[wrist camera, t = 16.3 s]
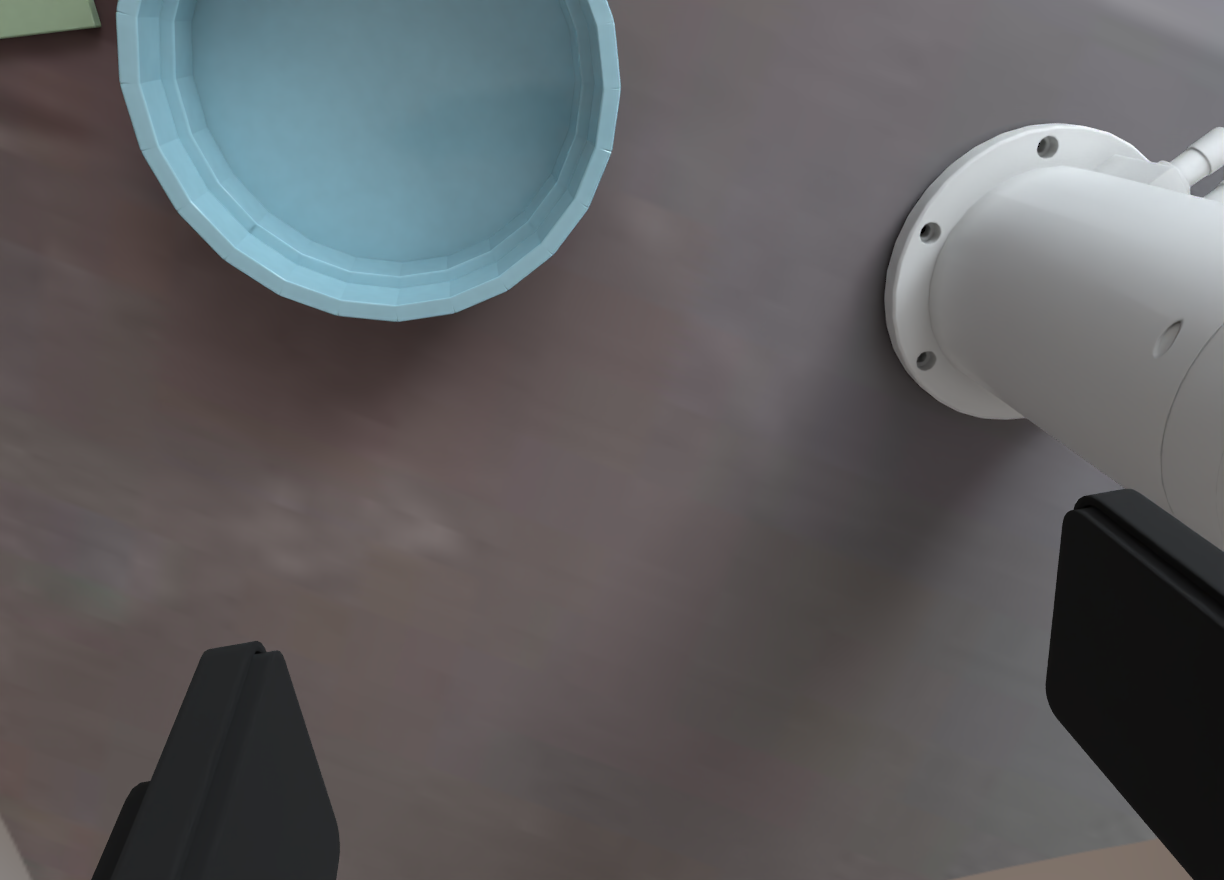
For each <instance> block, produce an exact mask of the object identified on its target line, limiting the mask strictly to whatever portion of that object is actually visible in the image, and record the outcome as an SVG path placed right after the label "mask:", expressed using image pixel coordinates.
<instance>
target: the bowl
mask: <svg viewBox="0 0 1224 880" xmlns="http://www.w3.org/2000/svg"><path fill="white" fill-rule="evenodd" d="M116 10H117V12H116V27H117V47H118V67H119V82H120V83H121V84H120V87H121V90H122V93H123V96H124V100H125V103H126V106H127V109H128V112H129V116H130V119H131V122H132V125H133V128H134V132H135V135H136V138H137V141H138V145H139V148H140V150H141V151H142V154H143V156H144V158H145V159H146V161H147V163H148V164H149V166H150V168H151V169H152V171H153V173H154V174H155V176H156V178H157V179H158V181H159V183H160V184H161V186H162V188H163V189H164V191H165V193H166V194H167V196H168V198H169V199H170V201H171V203H172V204H173V206H174V208H175V209H176V210H177V212H178V214H179V215H180V216H181V217H182V218H183V219H184V220H185V221H186V222H187V223H188V224H189V225H190V226H191V227H192V228H193V229H194V230H195V231H196V232H197V233H198V234H199V235H200V236H201V237H202V238H203V239H204V240H205V241H206V242H207V243H208V244H209V245H210V247H211V248H212V249H213V250H214V251H215V252H216V253H217V254H218V255H219V256H220V257H221V258H222V259H225V261H226V262H227V263H229V264H231V265H232V266H234V267H235V268H237V269H238V270H240V271H241V272H243V273H245V274H246V275H248V276H249V277H251V278H252V279H254V280H255V281H257V282H259V283H260V284H262V285H263V286H265V287H266V288H268V289H269V290H271V291H273V292H274V293H276V294H278V295H279V296H282V297H284V298H287V299H290V300H293V301H296V302H299V303H301V304H304V305H307V306H310V307H313V308H316V309H318V310H321V311H324V312H327V313H330V314H333V315H335V316H337V315H338V316H342V317H352V318H362V319H372V320H381V321H391V322H402V321H408V320H415V319H422V318H429V317H435V316H442V315H449V314H454V313H457V312H460V311H462V310H464V309H467V308H469V307H471V306H474V305H476V304H478V303H481V302H483V301H485V300H488V299H490V298H493V297H495V296H497V295H500V294H502V293H504V292H506V291H507V290H510V289H511V288H512V287H513V286H515V285H516V284H517V283H519V282H520V281H521V280H522V279H524V278H525V277H526V276H528V275H529V274H530V273H531V272H533V271H534V270H535V269H536V268H538V267H539V266H540V265H542V264H543V263H544V262H545V261H547V260H548V259H549V258H551V257H552V255H554V254H555V253H556V251H557V250H558V249H559V247H560V246H561V245H562V243H563V242H564V241H565V239H566V238H567V237H568V235H569V234H570V233H571V231H572V230H573V229H574V227H575V226H576V225H577V223H578V222H579V221H580V219H581V218H582V217H583V216H584V214H585V213H586V212H587V210H588V207H589V206H590V204H591V202H592V199H593V197H594V194H595V192H596V190H597V187H598V185H599V182H600V180H601V177H602V175H603V173H604V170H605V168H606V165H607V163H608V161H609V158H610V156H611V152H610V151H612V149H613V142H614V135H615V128H616V121H617V114H618V107H619V100H620V93H621V90H620V88H621V81H620V71H619V61H618V52H617V42H616V32H615V23H614V22H613V21H614V19H613V16H612V13H611V10H610V7H609V5H608V2H607V0H118V4H117V8H116Z"/></svg>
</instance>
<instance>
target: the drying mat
mask: <svg viewBox="0 0 1224 880" xmlns="http://www.w3.org/2000/svg"><path fill="white" fill-rule="evenodd" d="M96 27H101V23H100V19H99V16H98V13H97V10H96V7H95V3H94V0H0V39H4V38H12V37H21V36H29V35H37V34H46V33H54V32H62V31H71V30H79V29H87V28H96Z"/></svg>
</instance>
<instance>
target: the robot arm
mask: <svg viewBox="0 0 1224 880" xmlns="http://www.w3.org/2000/svg"><path fill="white" fill-rule="evenodd" d="M1039 142H1040V146H1039V148H1038V149H1037V147H1038V144H1039ZM1223 165H1224V128H1222V127H1217V128H1214V129H1213V130H1211V131H1210V132H1208V133H1207V134H1206V135H1204V136H1203V137H1201V138H1200V139H1199V140H1197V141H1196V142H1194V143H1193V144H1192V145H1190V146H1189V147H1188V148H1187V149H1186V151H1185V152H1183V153H1182V154H1181V155H1179V156H1178V157H1176V158H1175V159H1174V160H1172V161H1171V162H1167V161H1160V162H1158V163H1154V162H1150V161H1149V160H1148V159H1147V158H1146V157H1145V156H1143V155H1142V154H1141V153H1140V152H1139V151H1138V150H1137V149H1136V148H1135V147H1134V146H1133V145H1131V144H1130V143H1128V142H1126V141H1124V140H1122V139H1120V138H1118V137H1116V136H1115V135H1113V134H1111V133H1109V132H1105V131H1101V130H1097V129H1093V128H1089V127H1085V126H1079V125H1071V124H1063V123H1051V124H1039V125H1029V126H1026V127H1022V128H1019V129H1015V130H1012V131H1009V132H1005V133H1002V134H1000V135H998V136H996V137H994V138H992V139H990V140H988V141H986V142H984V143H982V144H980V145H978V146H976V147H974V148H973V149H971V150H970V151H969V152H967V153H966V154H965V155H963V156H962V157H960V158H959V159H958V160H956V161H955V162H954V163H952V164H951V165H950V166H948V167H947V169H946V170H945V171H944V172H943V173H942V174H941V175H940V176H939V177H938V178H937V179H936V180H935V181H934V182H933V183H932V184H931V185H930V186H929V187H928V188H927V189H926V191H925V192H924V194H923V195H922V196H921V198H920V199H919V201H918V202H917V204H916V205H915V206H914V208H913V209H912V211H911V212H910V214H909V215H908V217H907V219H906V221H905V223H904V225H903V228H902V230H901V232H900V234H899V236H898V238H897V240H896V242H895V245H894V249H893V252H892V256H891V259H890V263H889V266H888V269H887V277H886V286H885V296H884V303H885V314H886V325H887V329H888V332H889V336H890V339H891V342H892V346H893V349H894V351H895V353H896V354H897V356H898V358H899V360H900V362H901V364H902V365H903V367H904V369H905V370H906V372H907V373H908V374H909V375H910V376H911V377H912V378H913V379H914V380H915V382H916V383H917V384H918V385H919V386H920V387H921V388H922V389H924V390H925V391H926V392H928V393H929V394H930V395H931V396H933V397H934V398H935V399H936V400H937V401H939V402H941V403H943V404H945V405H947V406H948V407H950V408H952V409H954V410H956V411H958V412H961V413H964V414H968V415H972V416H975V417H979V418H986V419H1001V420H1008V419H1018V418H1027V419H1028V420H1030V421H1031V422H1032V423H1034V424H1035V425H1037V426H1038V427H1039V428H1041V429H1042V430H1044V431H1045V432H1046V433H1048V434H1049V435H1051V436H1052V437H1054V438H1055V439H1056V440H1058V441H1059V442H1061V443H1062V444H1063V445H1065V446H1066V447H1068V448H1069V449H1070V450H1072V451H1073V452H1075V453H1076V454H1077V455H1079V456H1080V457H1082V458H1083V459H1084V460H1086V461H1087V462H1089V463H1090V464H1091V465H1093V466H1094V467H1096V468H1097V469H1098V470H1100V471H1101V472H1103V473H1104V474H1105V475H1107V476H1108V477H1110V478H1111V479H1112V480H1114V481H1115V482H1117V483H1118V484H1119V485H1121V486H1122V487H1124V488H1125V489H1122V490H1116V491H1110V492H1105V493H1099V494H1093V495H1088V496H1083V497H1082V498H1080V499H1078V501H1077V503H1076V504H1075V507H1074V510H1071V511H1069V512H1068V513H1066V515H1065V517H1064V520H1063V525H1062V534H1061V544H1060V553H1059V563H1058V572H1057V582H1056V591H1055V601H1054V610H1053V620H1052V629H1051V639H1050V648H1049V658H1048V667H1047V677H1046V695H1047V699H1048V702H1049V705H1050V708H1051V710H1052V712H1053V713H1054V715H1055V716H1056V718H1057V719H1058V720H1059V721H1060V723H1061V724H1062V725H1063V726H1064V727H1065V728H1066V730H1067V731H1068V732H1069V733H1070V734H1071V736H1072V737H1073V738H1074V739H1075V740H1076V741H1077V743H1078V744H1079V745H1080V746H1081V747H1082V749H1083V750H1084V751H1085V752H1086V753H1087V754H1088V756H1089V757H1090V758H1091V759H1092V760H1093V762H1094V763H1095V764H1096V765H1097V766H1098V767H1099V769H1100V770H1101V771H1102V772H1103V773H1104V775H1105V776H1106V777H1107V778H1108V779H1109V780H1110V782H1111V783H1112V784H1113V785H1114V786H1115V788H1116V789H1117V790H1118V791H1119V792H1120V793H1121V795H1122V796H1123V797H1124V798H1125V799H1126V801H1127V802H1128V803H1129V804H1130V805H1131V806H1132V808H1133V809H1134V810H1135V811H1136V812H1137V814H1138V815H1139V816H1140V817H1141V818H1142V819H1143V821H1144V822H1145V823H1146V824H1147V825H1148V827H1149V828H1150V829H1151V830H1152V831H1153V832H1154V834H1155V835H1156V836H1157V837H1158V838H1159V839H1160V841H1161V842H1162V843H1163V844H1164V845H1165V847H1166V848H1167V849H1168V850H1169V851H1170V852H1171V854H1172V855H1173V856H1174V857H1175V858H1176V859H1177V861H1178V862H1179V863H1180V864H1181V865H1182V867H1183V868H1184V869H1185V870H1186V871H1187V873H1188V874H1189V875H1190V876H1191V877H1192V878H1193V880H1224V180H1223V181H1222V182H1221V183H1219V185H1218V186H1217V187H1216V189H1215V190H1213V191H1212V192H1210V193H1209V194H1207V195H1206V196H1205V197H1203V198H1201V197H1197V196H1193V195H1190V187H1191V186H1192V185H1194V184H1195V183H1197V182H1198V181H1199V180H1201V179H1202V178H1204V177H1205V176H1209V175H1211V174H1212V173H1214V172H1215V171H1216V170H1218V169H1219V168H1221V167H1222V166H1223ZM924 226H926V229H925V232H924V233H923V234H921V235H920V233H921V229H922V228H923V227H924ZM921 353H922V355H921V356H920V354H921ZM919 356H920V358H918V357H919ZM917 358H918V359H917ZM339 853H340V842H339V832H338V826H337V822H336V819H335V816H334V812H333V809H332V806H331V803H330V800H329V797H328V794H327V791H326V787H325V784H324V781H323V778H322V775H321V772H320V769H319V766H318V762H317V759H316V756H315V753H314V750H313V747H312V744H311V741H310V737H309V734H308V731H307V728H306V725H305V722H304V719H303V716H302V712H301V709H300V706H299V703H298V700H297V697H296V694H295V691H294V687H293V684H292V681H291V678H290V675H289V672H288V669H287V666H286V662H285V660H284V657H283V655H282V654H281V652H280V651H278V650H277V651H271V652H266V650H265V648H264V646H263V645H262V644H261V643H260V642H258V641H254V642H248V643H242V644H237V645H231V646H225V647H220V648H214V649H209V650H207V651H205V652H204V653H203V655H202V657H201V659H200V661H199V664H198V666H197V669H196V671H195V673H194V676H193V678H192V681H191V683H190V686H189V688H188V691H187V693H186V696H185V698H184V700H183V703H182V705H181V708H180V710H179V713H178V715H177V718H176V720H175V722H174V725H173V727H172V730H171V732H170V735H169V737H168V740H167V742H166V745H165V747H164V749H163V752H162V754H161V757H160V759H159V762H158V764H157V767H156V769H155V771H154V774H153V776H152V779H151V781H148V782H142V783H140V784H138V785H137V786H136V787H134V788H133V789H132V790H131V792H130V794H129V795H128V797H127V799H126V801H125V803H124V805H123V807H122V810H121V812H120V814H119V817H118V819H117V821H116V824H115V826H114V828H113V831H112V833H111V835H110V838H109V840H108V842H107V845H106V847H105V849H104V852H103V854H102V856H101V858H100V861H99V863H98V865H97V868H96V870H95V872H94V875H93V877H92V879H91V880H336V876H337V869H338V862H339Z"/></svg>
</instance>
